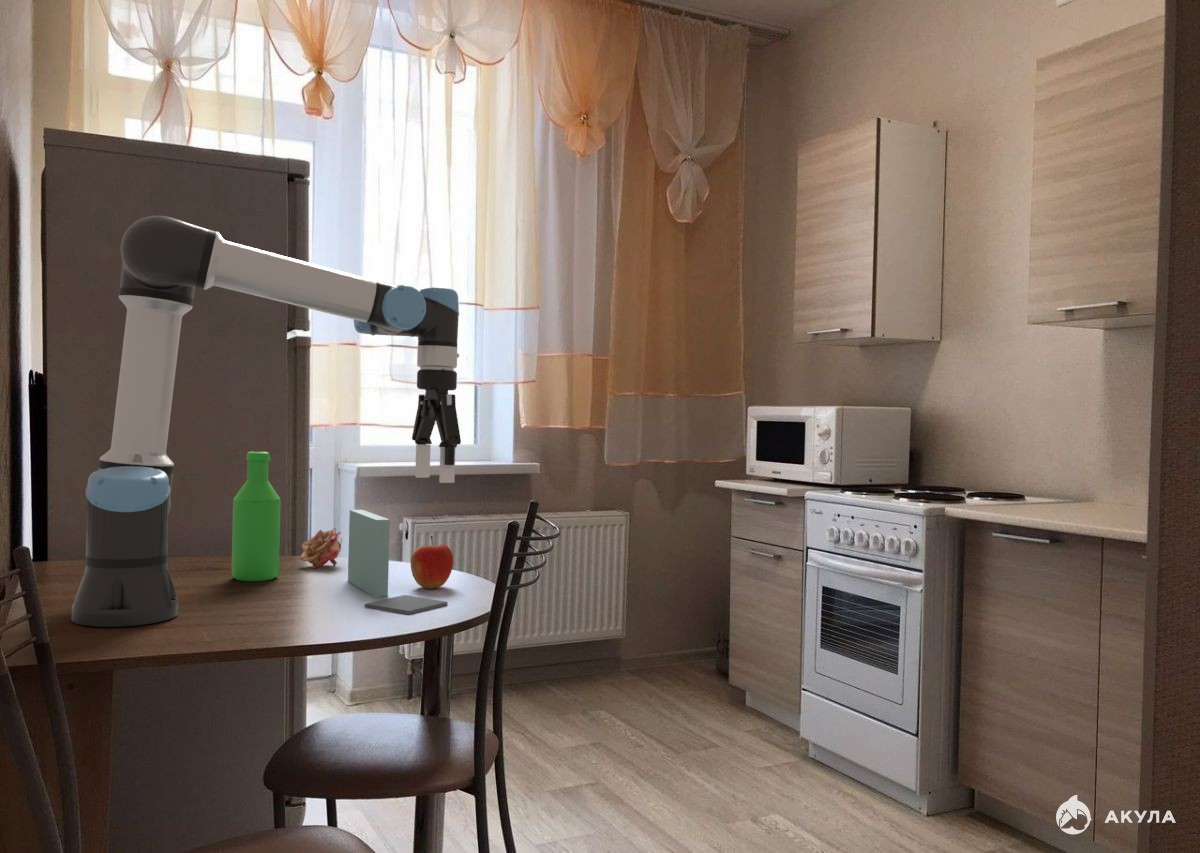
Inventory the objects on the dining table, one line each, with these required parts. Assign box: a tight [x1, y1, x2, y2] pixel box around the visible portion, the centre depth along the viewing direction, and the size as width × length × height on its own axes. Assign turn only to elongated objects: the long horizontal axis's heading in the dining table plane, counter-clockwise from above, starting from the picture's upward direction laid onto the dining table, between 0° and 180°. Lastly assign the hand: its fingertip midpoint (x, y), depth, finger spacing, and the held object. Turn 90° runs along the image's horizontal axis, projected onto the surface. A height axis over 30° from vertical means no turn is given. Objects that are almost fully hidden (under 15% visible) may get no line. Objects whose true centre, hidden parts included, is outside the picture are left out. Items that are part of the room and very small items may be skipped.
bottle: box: [231, 450, 282, 582], centre depth 191 cm, size 9×9×25 cm
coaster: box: [364, 594, 448, 615], centre depth 168 cm, size 10×10×1 cm
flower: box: [298, 527, 343, 569], centre depth 207 cm, size 10×9×8 cm
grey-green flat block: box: [347, 509, 391, 598], centre depth 184 cm, size 18×3×14 cm, turn 30°
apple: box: [410, 535, 454, 590], centre depth 186 cm, size 8×8×10 cm
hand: (434, 480), depth 186 cm, fingers open, 13 cm apart
